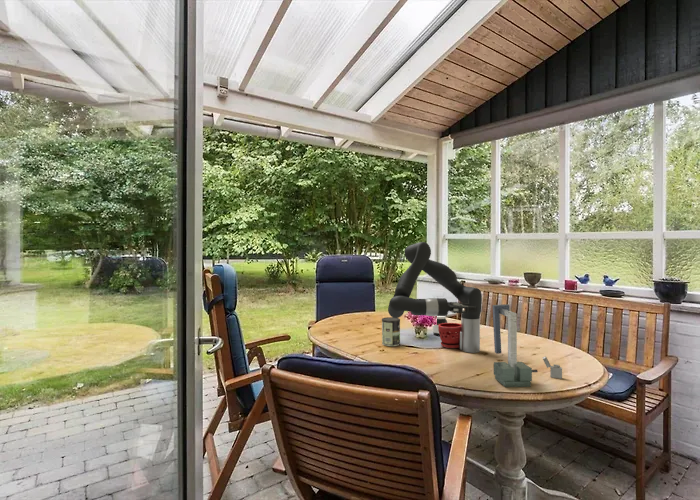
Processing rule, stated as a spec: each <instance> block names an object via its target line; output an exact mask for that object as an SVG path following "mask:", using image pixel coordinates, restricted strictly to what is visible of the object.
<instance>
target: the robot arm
mask: <svg viewBox="0 0 700 500" xmlns="http://www.w3.org/2000/svg"><path fill="white" fill-rule="evenodd" d="M431 255H432V249H431V247H430V245H429V244H428V243H427V242H425V241H419V242H416V243H412V244H410V245H408V246H406V248H405V249H404V256H405V258H406V260H407V261H408V262H409V263H410V265H409V266H408V267H407V269H406V270H405V271H404V272H403V273H402V275H401V276H400V278H399V280H398V282H397V284H396V287H395V290H394V294H393V296H392V297H391V299H390V300H389V303H388V307H387V312H388V314H389V316H390V317H393V318H399V319H400V318H401V317H403V315H404V314H405V312H410V313H411V315H412V316H427V317H435V316H446V317H447V316H448V315H449V312H451V313H453V314H461V315H460V317H461V321H460V322H461V323H460V324H461V332H460V347H459V350H460V351H462V352H466V353H471V354H473V353H475V354H476V353H479V352H480V351H481V347H480V346H481V332H480V331H481V329H480V328H481V322H480V321H481V313H482V305H483V303H482V302H483V297H482V291H481V290H480V288H478V287H474V286H466V285H463V284H462V283H461V282H459V280H458V278H457V274H456V272H454V270H452V268H450V267H449V266H447V265H446V264H444V263H441V262H438V261H435V260H432V259H430V258H431ZM422 271H423V272H424V273H426V275H428V276H429V277H431V278H432V279H433V280H434V281H435V282H437V283H438V284H439V285H441V286H442V287H443V288H444V289H446V290H447V291H448V292H449V293H451V294H452V295H453V296H454V297H455V298H456V300H458V301H459V302H458V301H448V300H447V298H443V297H442V298H441V297H440V298H439V297H437V298H435V297H433V298H430V297H428V298H413V297H411V294H412V292H413V289H414V287H415V284H416V282H417V280H418V278H419V276H420V274H421V273H422ZM463 309H464V310H463Z"/></svg>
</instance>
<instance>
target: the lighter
mask: <svg viewBox="0 0 700 500" xmlns="http://www.w3.org/2000/svg"><path fill="white" fill-rule="evenodd" d="M542 361H543V362H544V364H545V367H546V368H547V369H548V368H550V375H549V377H550V378H554V379H558V380H559V379H560V380H562V379H563V367H561V366H560V365H559V364H556V363H555V364H553V365H551V363H550V362H549V359H548V357H547V356H546V355H545V356H543V357H542Z"/></svg>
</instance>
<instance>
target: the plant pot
mask: <svg viewBox="0 0 700 500" xmlns="http://www.w3.org/2000/svg"><path fill="white" fill-rule="evenodd" d="M438 330H439V335H440V336H439V339H440V345H441V346H442V347H444V348H446V349H460V332H461V323H457V322H448V323H442V324H439V325H438ZM449 332H450V333H449Z"/></svg>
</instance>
